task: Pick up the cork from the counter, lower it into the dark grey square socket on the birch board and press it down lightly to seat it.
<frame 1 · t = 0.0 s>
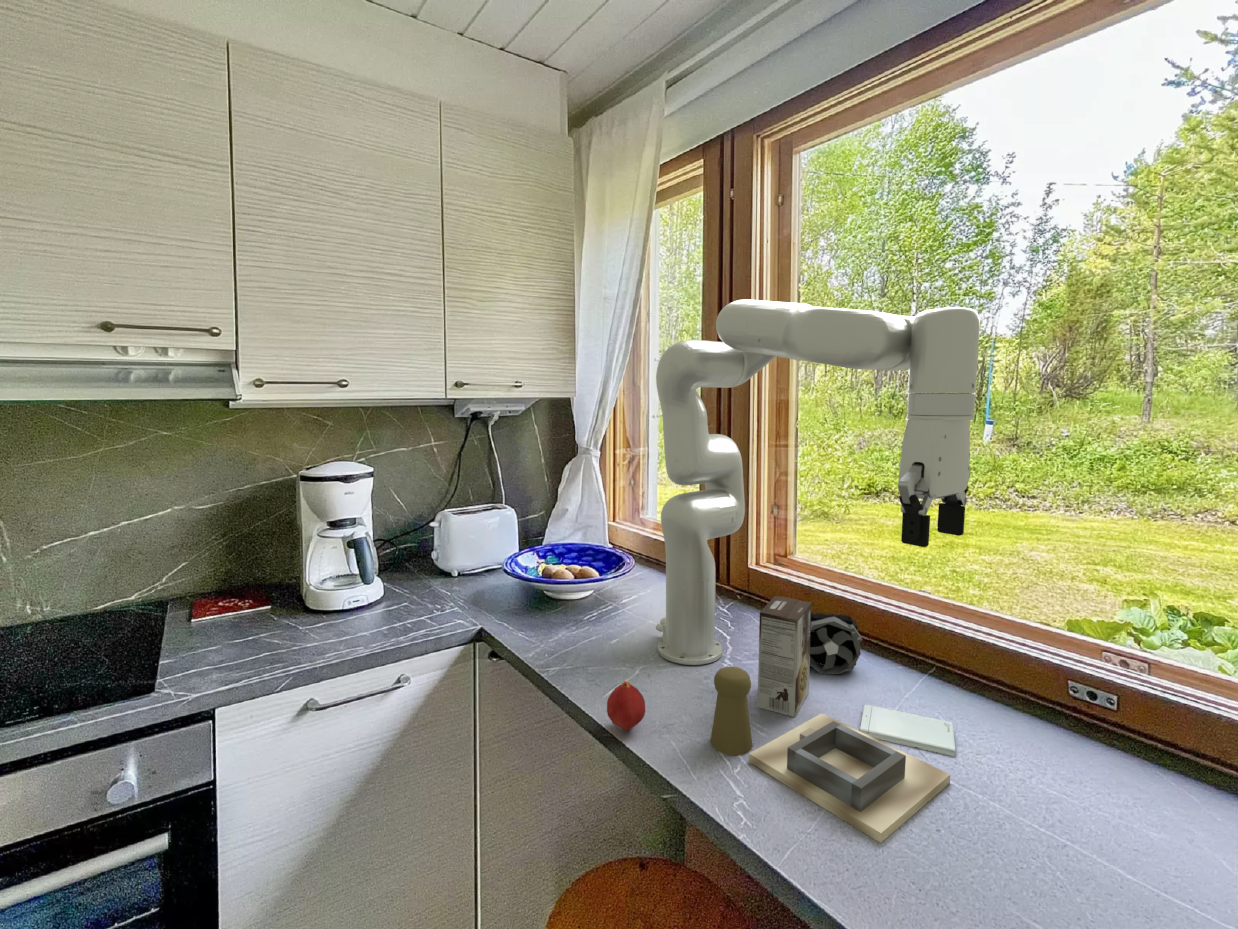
hand: (933, 539, 78), 31 cm above the worktop, tool pointing down, fingers open, 9 cm apart
onion: (626, 731, 90), on the worktop
cork: (731, 744, 86), on the worktop
board: (846, 772, 80), on the worktop
hard drive: (906, 735, 89), on the worktop
coffee box: (783, 701, 98), on the worktop
cpu cooler: (828, 669, 110), on the worktop
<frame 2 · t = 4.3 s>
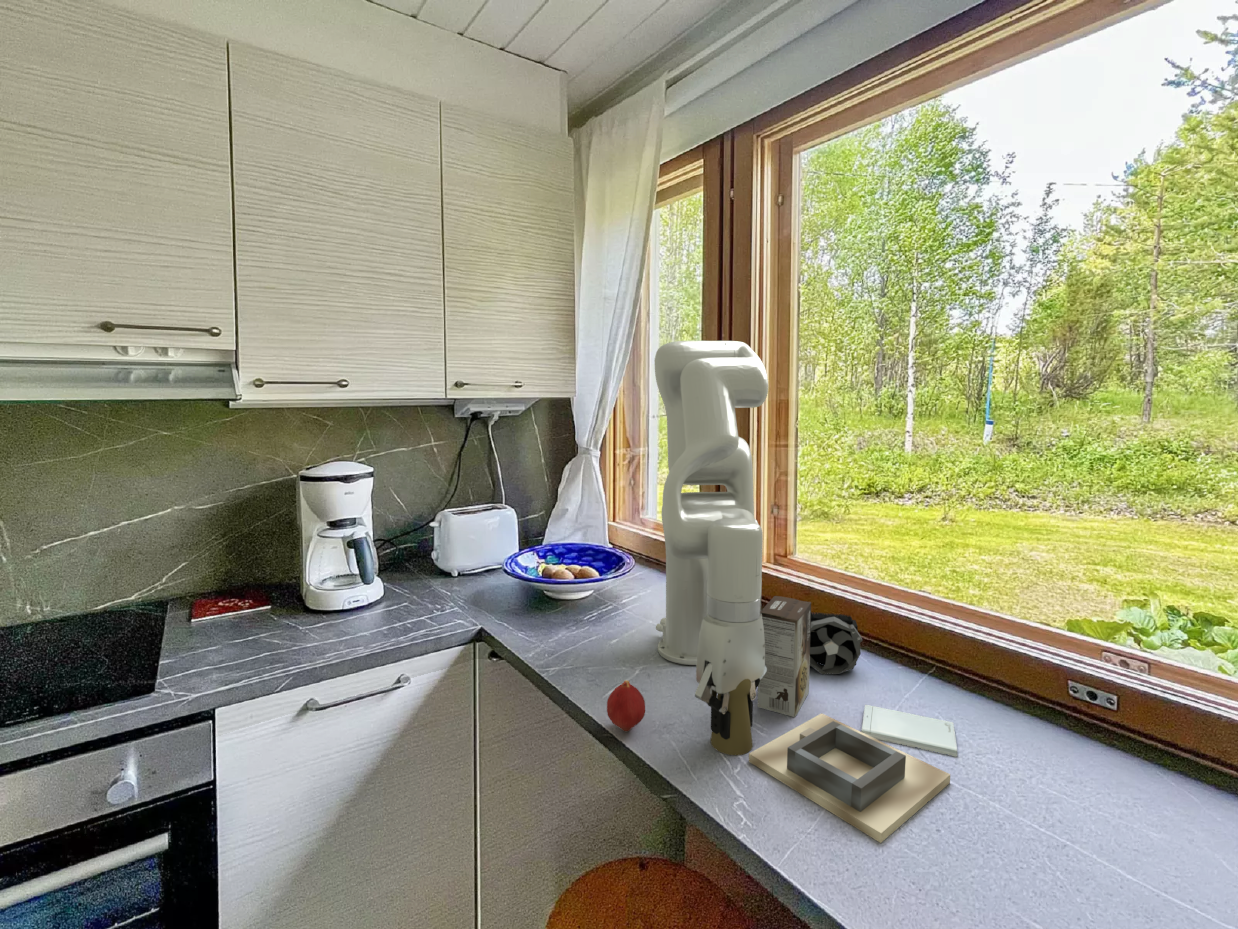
hand: (731, 727, 86), 2 cm above the worktop, tool pointing down, fingers closed on cork, 4 cm apart
cork: (731, 744, 86), on the worktop, touching gripper
everything else where it was.
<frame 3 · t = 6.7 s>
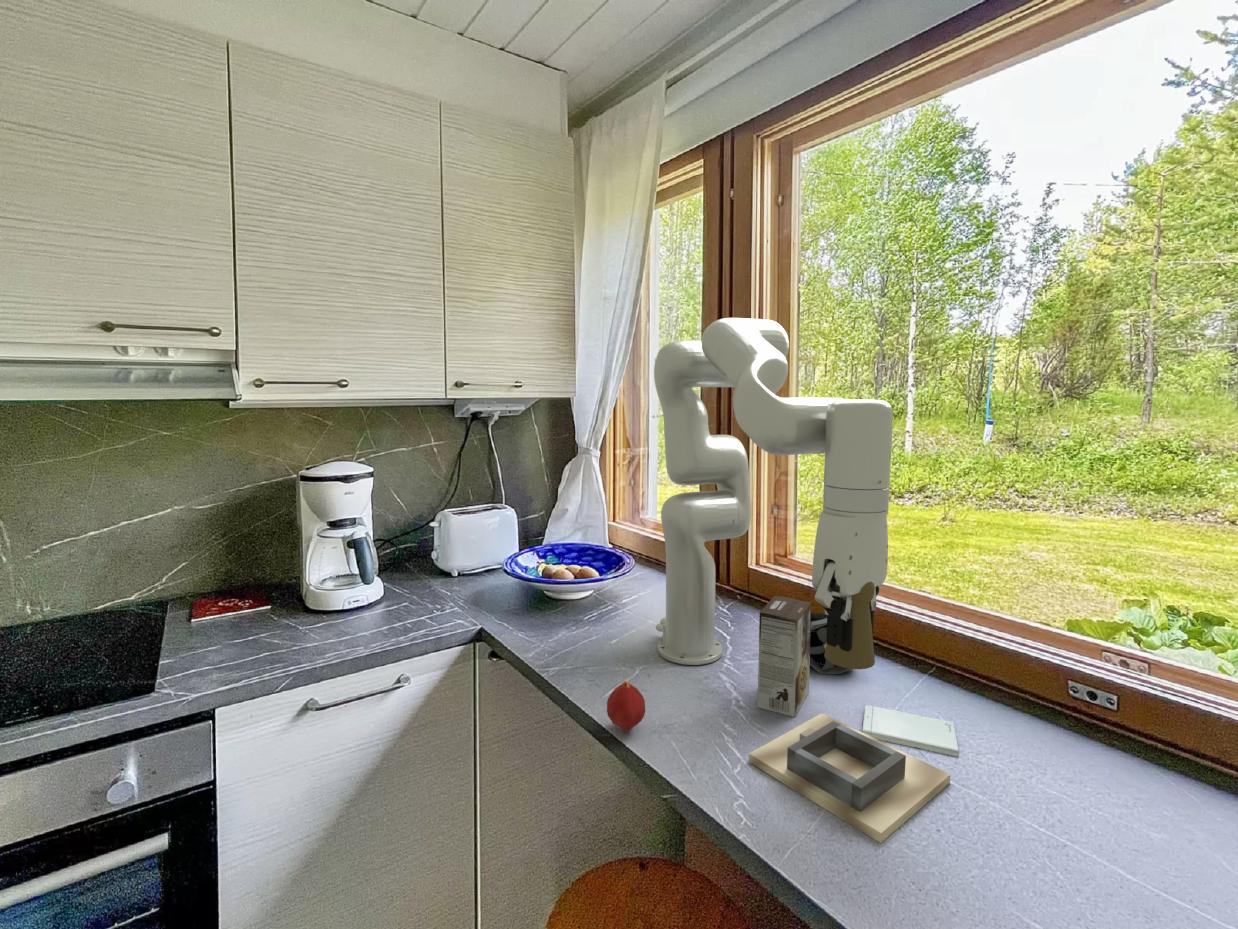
hand: (849, 641, 75), 19 cm above the worktop, tool pointing down, fingers closed on cork, 4 cm apart
cork: (849, 660, 76), point 17 cm above the worktop, touching gripper
everything else where it was.
when the fingers open (5 cm above the worktop, at t = 9.4 s): cork drops 2 cm, resting on board.
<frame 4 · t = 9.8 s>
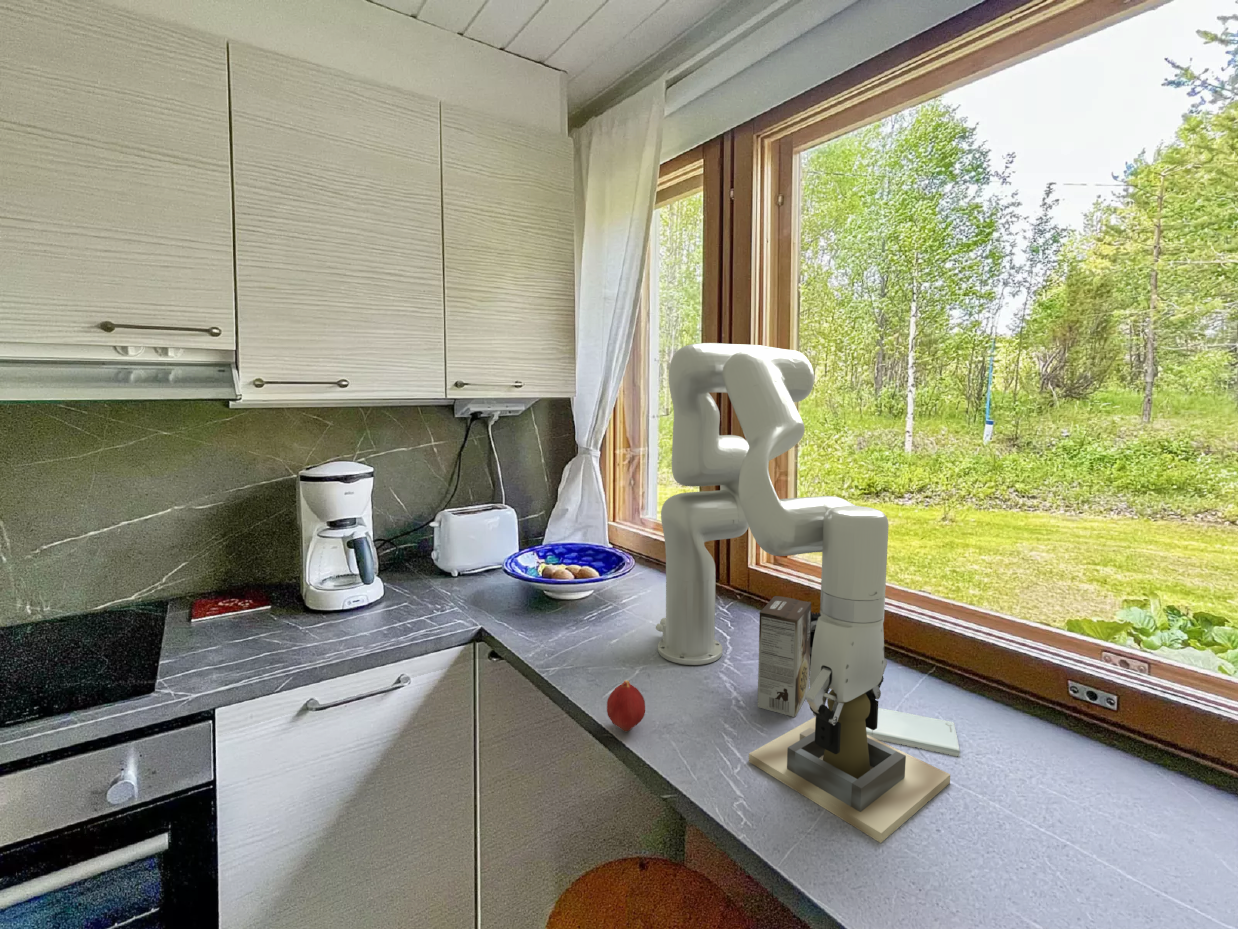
hand: (846, 735, 77), 6 cm above the worktop, tool pointing down, fingers open, 8 cm apart
cork: (845, 772, 78), point 1 cm above the worktop, touching board
everything else where it was.
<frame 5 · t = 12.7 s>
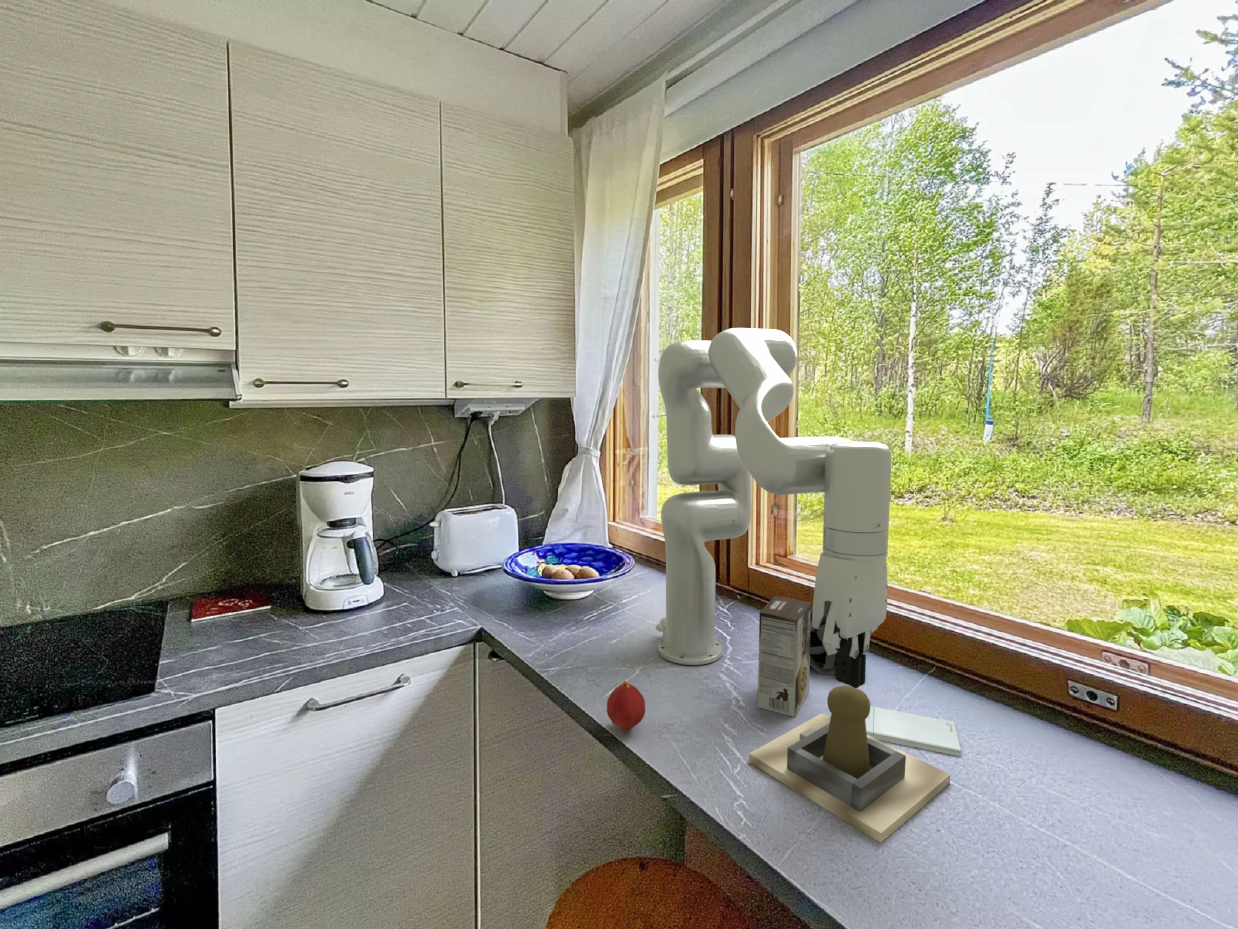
hand: (849, 682, 76), 14 cm above the worktop, tool pointing down, fingers closed
nothing on the worktop moved.
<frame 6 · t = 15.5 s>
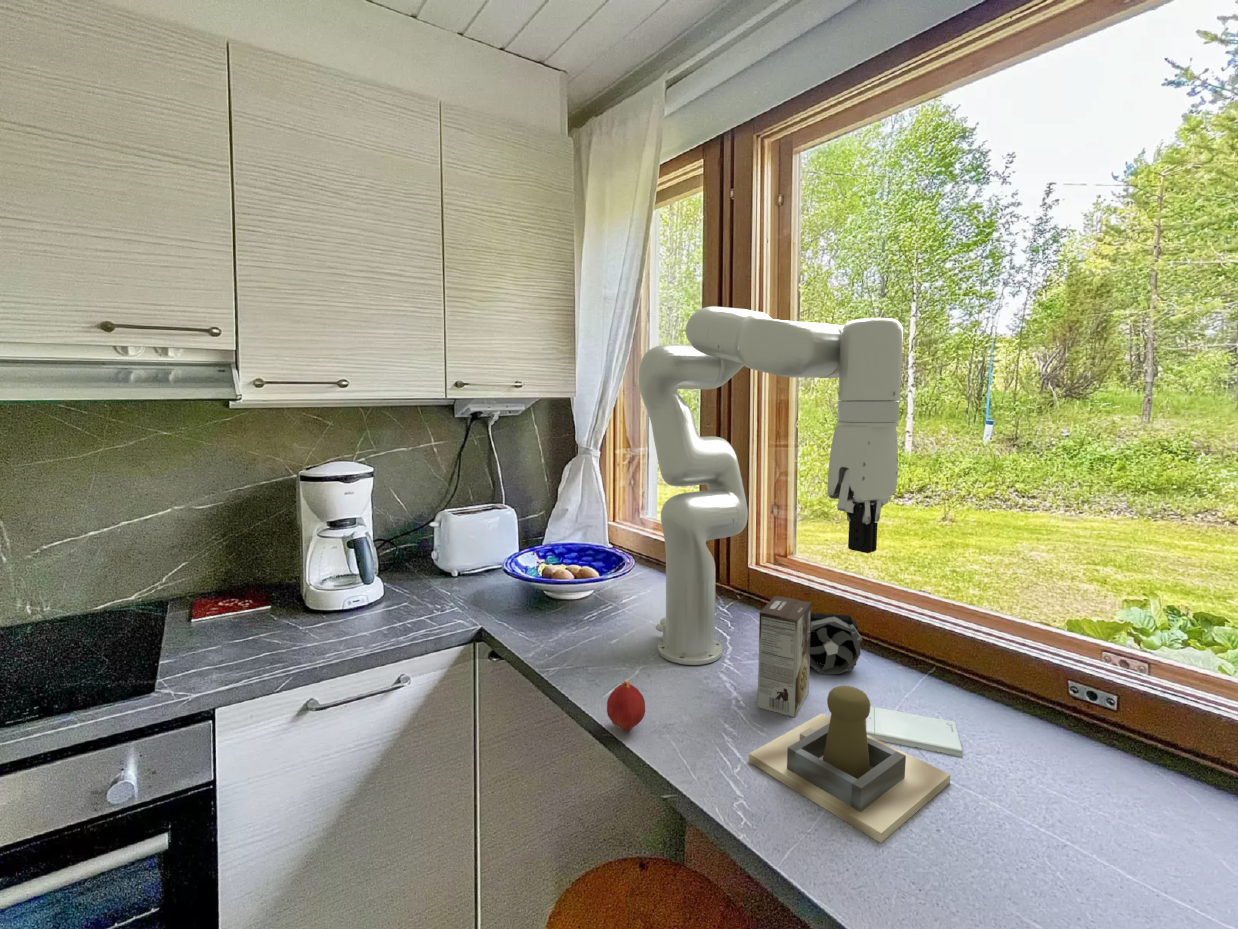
hand: (862, 550, 81), 29 cm above the worktop, tool pointing down, fingers closed
nothing on the worktop moved.
at the end: cork 0.5 cm from the target spot on the board, point 1.0 cm above the board's base; cork tilted 0°; the gripper is holding nothing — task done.
